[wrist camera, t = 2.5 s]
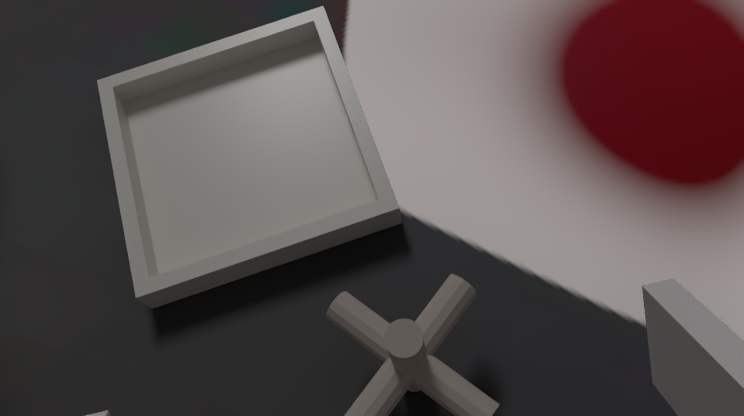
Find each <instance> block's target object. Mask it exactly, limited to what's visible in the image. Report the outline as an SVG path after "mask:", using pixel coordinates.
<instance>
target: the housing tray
mask: <svg viewBox="0 0 744 416" xmlns="http://www.w3.org/2000/svg"><path fill="white" fill-rule="evenodd" d="M97 83H98V88H99V94H100V100H101V105H102V111H103V116H104V122H105V128H106V133H107V139H108V144H109V150H110V156H111V161H112V167H113V172H114V178H115V184H116V189H117V195H118V200H119V206H120V212H121V217H122V223H123V229H124V234H125V240H126V245H127V251H128V257H129V262H130V268H131V273H132V279H133V285H134V290H135V296H136V298H137V299H138V300H140V301H141V302H143V303H144V304H146V305H147V306H149V307H150V308H152V309H153V308H156V307H159V306H162V305H165V304H168V303H171V302H174V301H177V300H180V299H183V298H185V297H188V296H191V295H194V294H197V293H200V292H203V291H206V290H209V289H212V288H215V287H218V286H220V285H223V284H226V283H229V282H232V281H235V280H238V279H241V278H244V277H247V276H250V275H253V274H256V273H258V272H261V271H264V270H267V269H270V268H273V267H276V266H279V265H282V264H285V263H288V262H291V261H294V260H296V259H299V258H302V257H305V256H308V255H311V254H314V253H317V252H320V251H323V250H326V249H329V248H331V247H334V246H337V245H340V244H343V243H346V242H349V241H352V240H355V239H358V238H361V237H364V236H367V235H369V234H372V233H375V232H378V231H381V230H384V229H387V228H390V227H393V226H396V225H399V224H402V221H401V215H400V209H399V206H398V203H397V201H396V198H395V195H394V193H393V190H392V187H391V185H390V182H389V179H388V177H387V174H386V171H385V169H384V166H383V163H382V161H381V158H380V155H379V153H378V150H377V148H376V145H375V142H374V140H373V137H372V135H371V132H370V129H369V127H368V124H367V121H366V118H365V116H364V113H363V110H362V108H361V105H360V103H359V100H358V97H357V95H356V92H355V89H354V87H353V84H352V81H351V79H350V76H349V73H348V71H347V68H346V65H345V63H344V60H343V57H342V55H341V52H340V49H339V47H338V44H337V41H336V39H335V36H334V33H333V31H332V28H331V25H330V23H329V20H328V18H327V15H326V12H325V10H324V7H323V6H321V7H318V8H315V9H312V10H309V11H306V12H303V13H300V14H297V15H294V16H291V17H288V18H285V19H282V20H279V21H276V22H273V23H270V24H267V25H264V26H261V27H258V28H255V29H252V30H249V31H246V32H243V33H240V34H237V35H234V36H230V37H227V38H224V39H221V40H218V41H215V42H212V43H209V44H206V45H203V46H200V47H197V48H194V49H191V50H188V51H185V52H182V53H179V54H176V55H173V56H170V57H167V58H164V59H161V60H158V61H155V62H152V63H149V64H146V65H143V66H140V67H137V68H133V69H130V70H127V71H124V72H121V73H118V74H115V75H112V76H109V77H106V78H103V79H100V80H97Z"/></svg>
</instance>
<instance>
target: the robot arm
mask: <svg viewBox="0 0 744 416" xmlns="http://www.w3.org/2000/svg"><path fill="white" fill-rule="evenodd" d="M642 289H643V298H644V307H645V317H646V326H647V335H648V345H649V354H650V363H651V372H652V381H653V384H654V385H655V386H656V388H657V389H658V390H659V392H660V393H661V394H662V395H663V397H664V398H665V399H666V401H667V402H668V403H669V404H670V406H671V407H672V408H673V409H674V411H675V412H676V413H677V415H678V416H744V341H743V340H742V339H741V338H740V337H739V336H738V335H737V334H736V333H734V332H733V331H732V330H731V329H730V328H729V327H728V326H727V325H725V324H724V323H723V322H722V321H721V320H720V319H719V318H718V317H717V316H715V315H714V314H713V313H712V312H711V311H710V310H709V309H707V308H706V307H705V306H704V305H703V304H702V303H701V302H700V301H699V300H697V299H696V298H695V297H694V296H693V295H692V294H691V293H690V292H688V291H687V290H686V289H685V288H684V287H683V286H682V285H681V284H679V283H678V282H677V281H676V280H675V279H669V280H665V281H661V282H657V283H652V284H648V285H644V286H642ZM86 416H110V413H109V411H108V410H107V411H103V412H99V413H94V414H90V415H86Z"/></svg>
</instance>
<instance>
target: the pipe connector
mask: <svg viewBox="0 0 744 416" xmlns="http://www.w3.org/2000/svg"><path fill="white" fill-rule="evenodd" d="M476 296H477V292H476V290H475V289H474V288H473V287H472V286H471V285H470V284H469V283H468V282H466V281H465V280H464V279H462V278H460V277H459V276H457V275H454V274H451V275H450V276H449V277H448V278H447V280H446V281H445V282H444V284H443V285H442V286H441V288H440V289H439V290H438V292H437V293H436V294H435V296H434V297H433V298H432V300H431V301H430V302H429V304H428V305H427V306H426V308H425V309H424V310H423V312H422V313H421V314H420V316H419V317H418V318H417V320H416V321H415V322H414V321H412V320H409V319H399V320H396V321H394V322H392V323H391V324H390V323H388V322H387V321H386V320H384V319H383V318H382V317H380V316H379V315H378V314H376V313H375V312H374V311H372V310H371V309H369V308H368V307H367V306H365V305H364V304H363V303H361V302H360V301H359V300H357V299H356V298H355V297H353V296H352V295H350V294H349V293H348V292H345V291H344V292H342V293H341V294H339V295H338V296H337V298H336V299H335V300H334V301H333V302H332V304H331V305H330V307H329V309H328V311H327V313H326V318H327V319H328V320H330V321H331V322H332V323H334V324H335V325H336V326H338V327H339V328H340V329H341V330H343V331H344V332H345V333H347V334H348V335H349V336H351V337H352V338H353V339H355V340H356V341H357V342H358V343H360V344H361V345H362V346H364V347H365V348H366V349H368V350H369V351H370V352H372V353H373V354H374V355H376V356H377V357H378V358H379V359H381V360H382V361H383V362H384V363H383V365H382V366H381V367H380V369H379V370H378V371H377V373H376V374H375V375H374V377H373V378H372V379H371V381H370V382H369V383H368V385H367V386H366V387H365V389H364V390H363V391H362V393H361V394H360V395H359V397H358V398H357V399H356V401H355V402H354V403H353V405H352V406H351V407H350V409H349V410H348V411H347V413H346V414H345V415H344V416H389V415H390V413H391V412H392V410H393V409H394V408H395V406H396V405H397V404H398V402H399V401H400V400H401V398H402V397H403V395H404V394H405V393H406V391H407V390H408V391H412V392H417V391H420V390H421V391H423V392H424V393H425V394H427V395H428V396H429V397H431V398H432V399H433V400H435V401H436V402H437V403H438V404H440V405H441V406H442V407H444V408H445V409H446V410H448V411H449V412H450V413H452V414H453V415H454V416H493V414H494V413H495V411H496V410H497V408H498V407H499V405H500V404H498V403H497V402H496V401H494V400H493V399H492V398H490V397H489V396H487V395H486V394H485V393H483V392H482V391H481V390H479V389H478V388H477V387H475V386H474V385H473V384H471V383H470V382H468V381H467V380H466V379H464V378H463V377H462V376H460V375H459V374H458V373H456V372H455V371H454V370H452V369H451V368H449V367H448V366H447V365H445V364H444V363H443V362H441V361H440V360H439V359H437V358H436V357H435V356H433V354H434V353H435V352H436V350H437V349H438V348H439V346H440V345H441V343H442V342H443V341H444V339H445V338H446V337H447V335H448V334H449V332H450V331H451V330H452V328H453V327H454V326H455V324H456V323H457V322H458V320H459V319H460V317H461V316H462V315H463V313H464V312H465V311H466V309H467V308H468V306H469V305H470V304H471V302H472V301H473V300H474V298H475V297H476Z"/></svg>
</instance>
